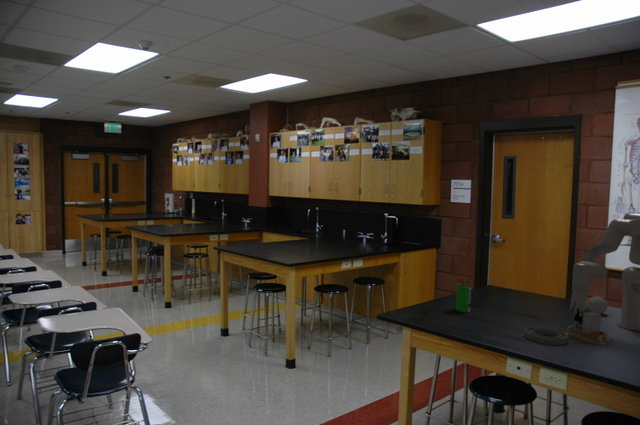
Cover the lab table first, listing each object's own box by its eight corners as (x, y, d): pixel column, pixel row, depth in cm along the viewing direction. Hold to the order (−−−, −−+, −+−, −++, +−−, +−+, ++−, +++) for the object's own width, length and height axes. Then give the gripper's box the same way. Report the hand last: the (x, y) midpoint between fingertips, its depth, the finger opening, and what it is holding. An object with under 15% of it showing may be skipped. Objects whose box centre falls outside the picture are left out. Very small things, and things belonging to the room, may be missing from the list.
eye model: (601, 311, 274) (602, 294, 274) (610, 316, 264) (611, 299, 264) (583, 310, 275) (584, 294, 275) (591, 315, 265) (592, 298, 264)
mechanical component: (530, 330, 234) (531, 324, 234) (571, 339, 222) (572, 333, 222) (519, 338, 220) (519, 332, 220) (562, 348, 208) (562, 342, 208)
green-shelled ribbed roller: (472, 312, 262) (474, 281, 261) (458, 312, 263) (459, 280, 262) (467, 308, 272) (469, 277, 270) (453, 307, 272) (455, 277, 271)
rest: (572, 330, 235) (573, 323, 235) (612, 339, 222) (612, 332, 222) (561, 335, 225) (562, 328, 225) (602, 345, 213) (603, 338, 212)
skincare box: (589, 339, 219) (591, 314, 219) (582, 336, 224) (583, 312, 223) (599, 339, 221) (601, 314, 220) (592, 336, 225) (593, 311, 224)
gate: (574, 328, 235) (574, 320, 235) (578, 329, 234) (579, 321, 233) (565, 333, 227) (566, 324, 227) (569, 334, 226) (570, 325, 225)
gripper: (577, 284, 242) (575, 319, 243) (566, 288, 232) (564, 324, 233) (593, 287, 237) (591, 322, 238) (583, 291, 227) (580, 328, 228)
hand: (577, 323), depth 235 cm, fingers closed
